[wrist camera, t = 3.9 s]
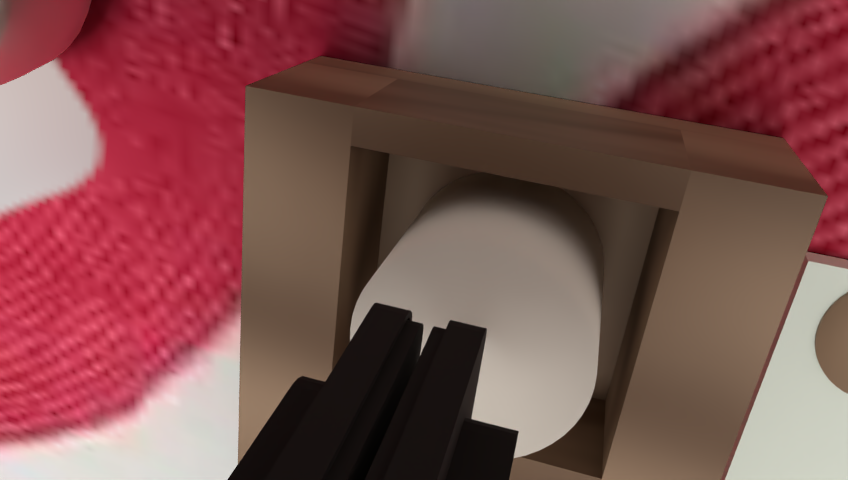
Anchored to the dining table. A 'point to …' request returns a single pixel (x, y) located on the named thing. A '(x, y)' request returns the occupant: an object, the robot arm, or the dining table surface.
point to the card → (801, 386)
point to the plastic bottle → (36, 33)
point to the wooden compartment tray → (546, 164)
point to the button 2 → (506, 296)
